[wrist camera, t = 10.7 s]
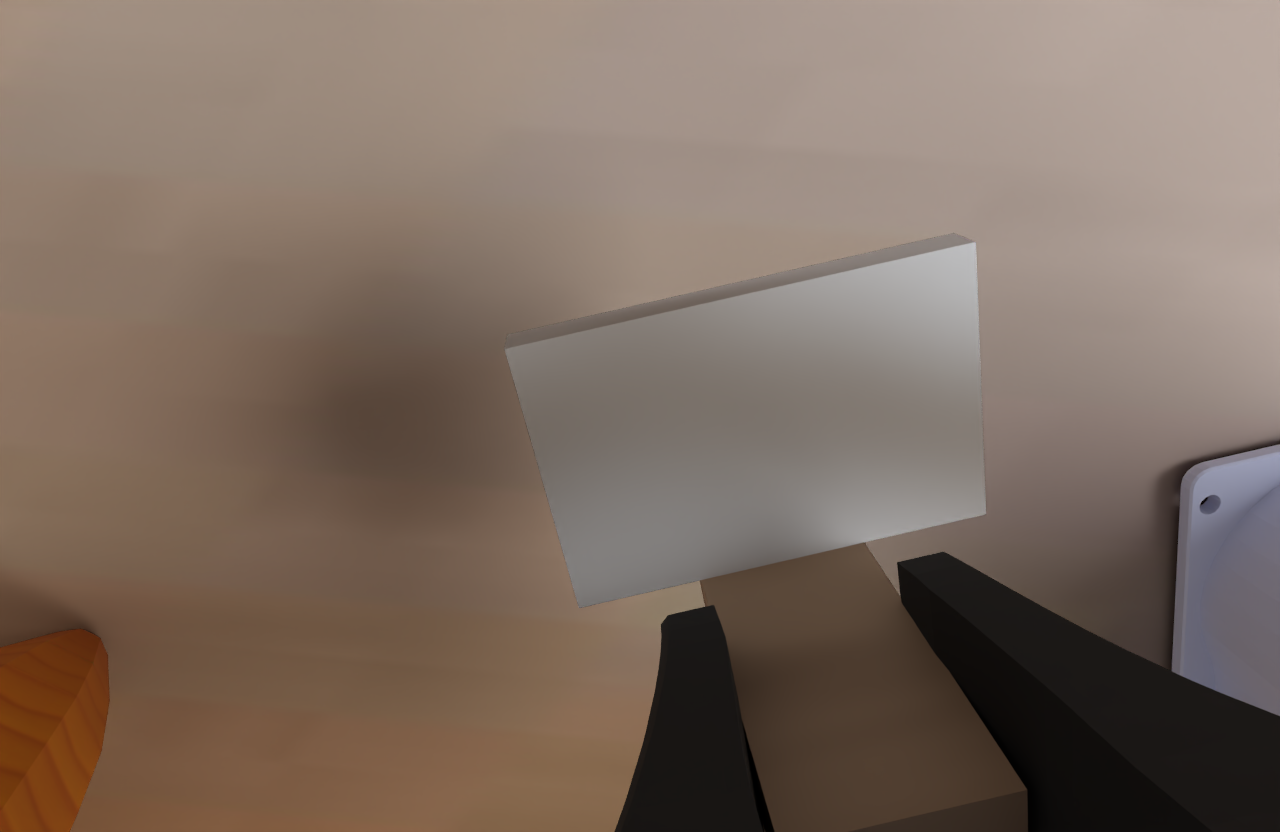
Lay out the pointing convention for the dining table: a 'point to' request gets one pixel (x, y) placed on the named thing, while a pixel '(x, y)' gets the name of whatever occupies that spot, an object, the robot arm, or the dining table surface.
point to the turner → (790, 512)
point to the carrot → (50, 728)
